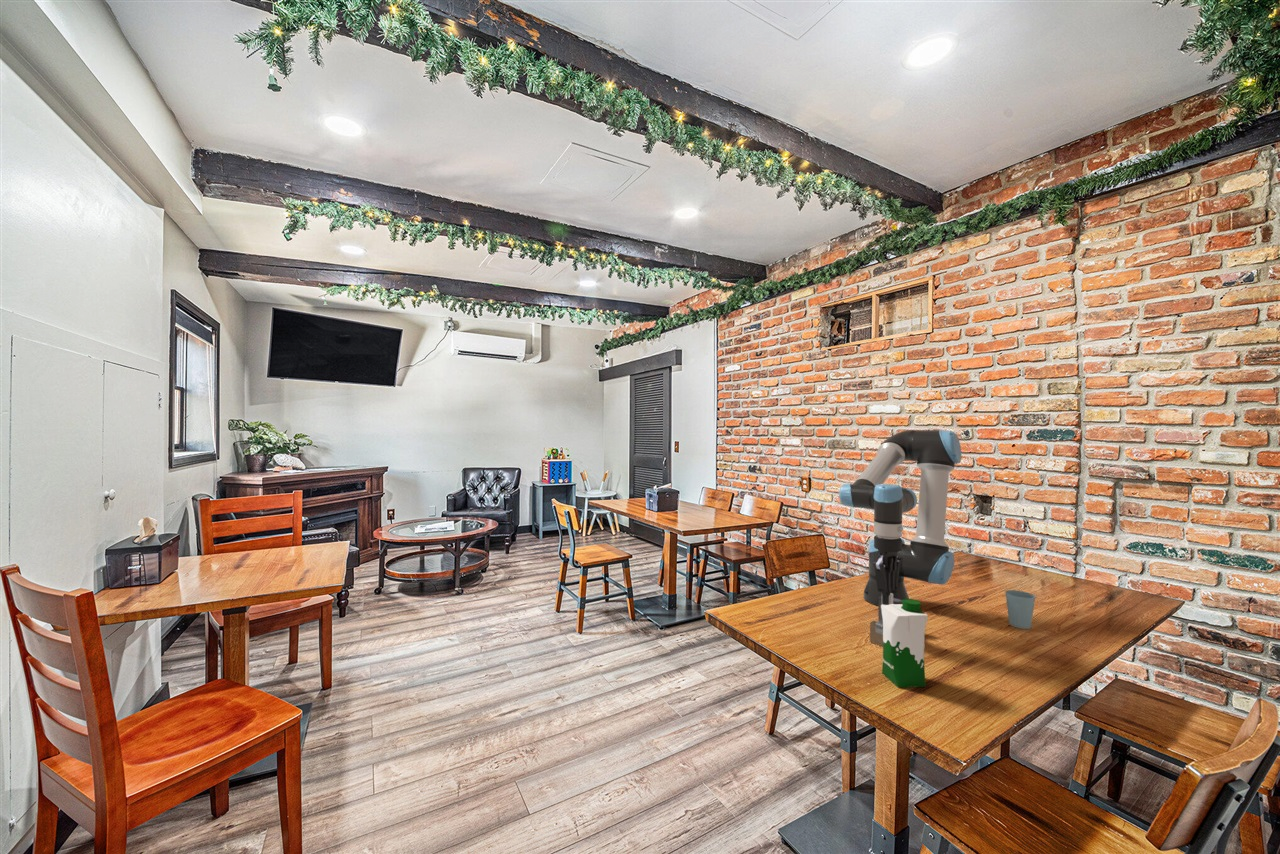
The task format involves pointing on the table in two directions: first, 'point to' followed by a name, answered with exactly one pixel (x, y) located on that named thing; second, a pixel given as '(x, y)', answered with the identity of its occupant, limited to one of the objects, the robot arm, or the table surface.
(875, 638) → the rail
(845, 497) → the robot arm
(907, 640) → the milk carton
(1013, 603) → the cup
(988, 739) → the table surface
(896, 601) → the collar
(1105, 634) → the table surface
